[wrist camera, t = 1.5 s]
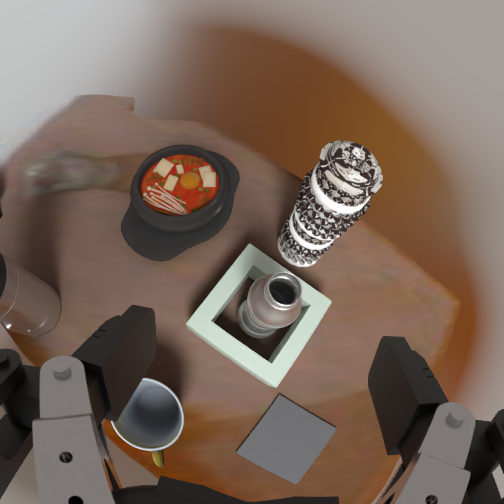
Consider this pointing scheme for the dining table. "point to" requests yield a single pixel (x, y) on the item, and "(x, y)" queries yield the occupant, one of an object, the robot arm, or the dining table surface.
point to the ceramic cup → (151, 419)
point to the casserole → (178, 201)
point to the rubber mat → (286, 440)
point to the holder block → (265, 370)
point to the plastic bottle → (270, 304)
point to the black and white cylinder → (329, 201)
